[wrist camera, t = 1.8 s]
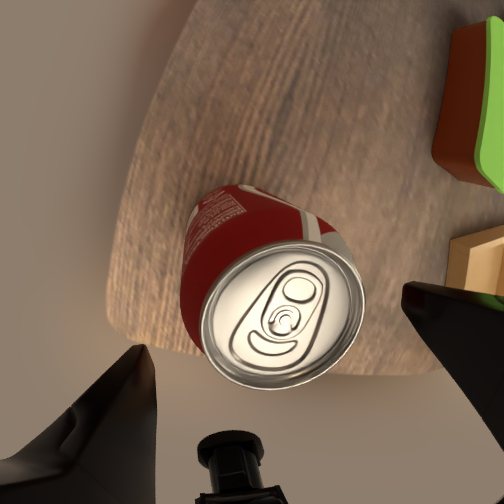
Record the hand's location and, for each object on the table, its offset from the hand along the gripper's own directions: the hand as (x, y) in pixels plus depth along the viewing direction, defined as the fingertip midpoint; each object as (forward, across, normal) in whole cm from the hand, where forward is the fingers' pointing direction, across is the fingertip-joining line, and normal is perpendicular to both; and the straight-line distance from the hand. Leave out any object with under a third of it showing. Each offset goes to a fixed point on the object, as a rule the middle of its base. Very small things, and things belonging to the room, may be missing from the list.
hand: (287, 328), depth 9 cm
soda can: (+12, 0, 0) cm, 12 cm away
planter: (+12, -32, -13) cm, 37 cm away
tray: (+12, -27, +11) cm, 31 cm away
